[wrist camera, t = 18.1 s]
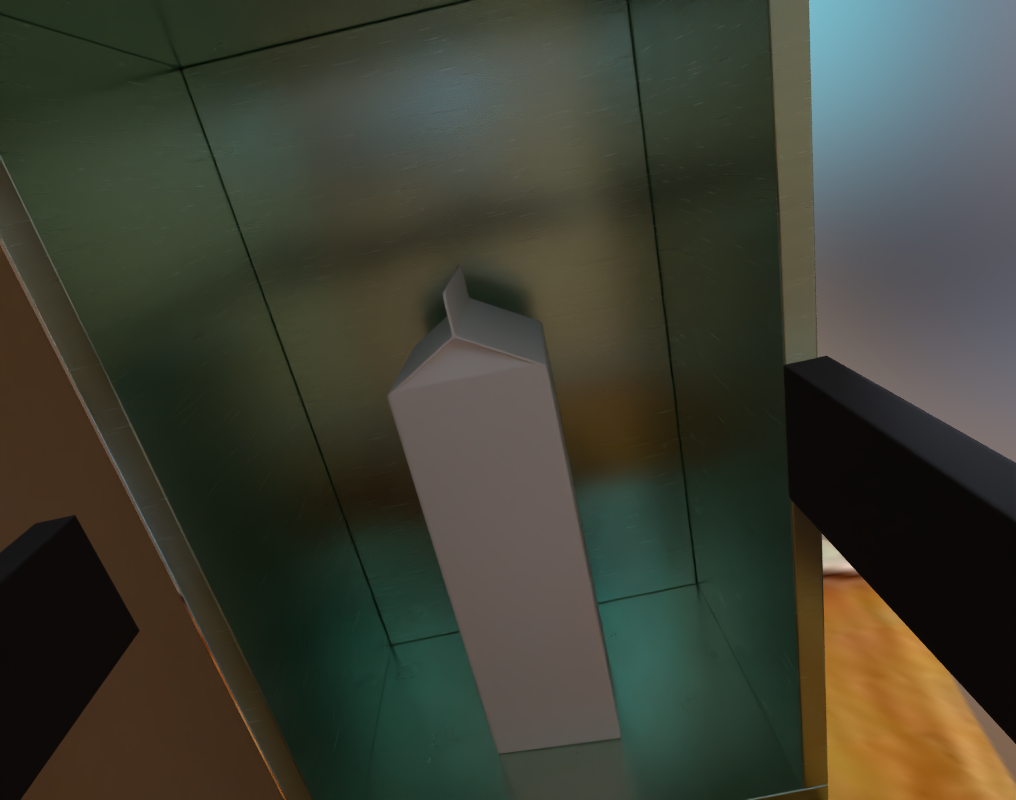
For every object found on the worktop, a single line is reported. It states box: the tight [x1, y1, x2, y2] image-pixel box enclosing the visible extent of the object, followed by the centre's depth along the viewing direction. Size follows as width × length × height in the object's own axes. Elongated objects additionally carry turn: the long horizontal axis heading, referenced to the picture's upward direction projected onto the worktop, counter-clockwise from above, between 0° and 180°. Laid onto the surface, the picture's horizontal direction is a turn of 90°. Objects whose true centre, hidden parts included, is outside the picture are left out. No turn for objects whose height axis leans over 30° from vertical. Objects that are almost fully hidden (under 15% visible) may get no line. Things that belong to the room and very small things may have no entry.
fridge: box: [0, 0, 828, 800], centre depth 26 cm, size 14×21×34 cm, turn 93°
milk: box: [387, 265, 621, 754], centre depth 28 cm, size 6×6×22 cm
